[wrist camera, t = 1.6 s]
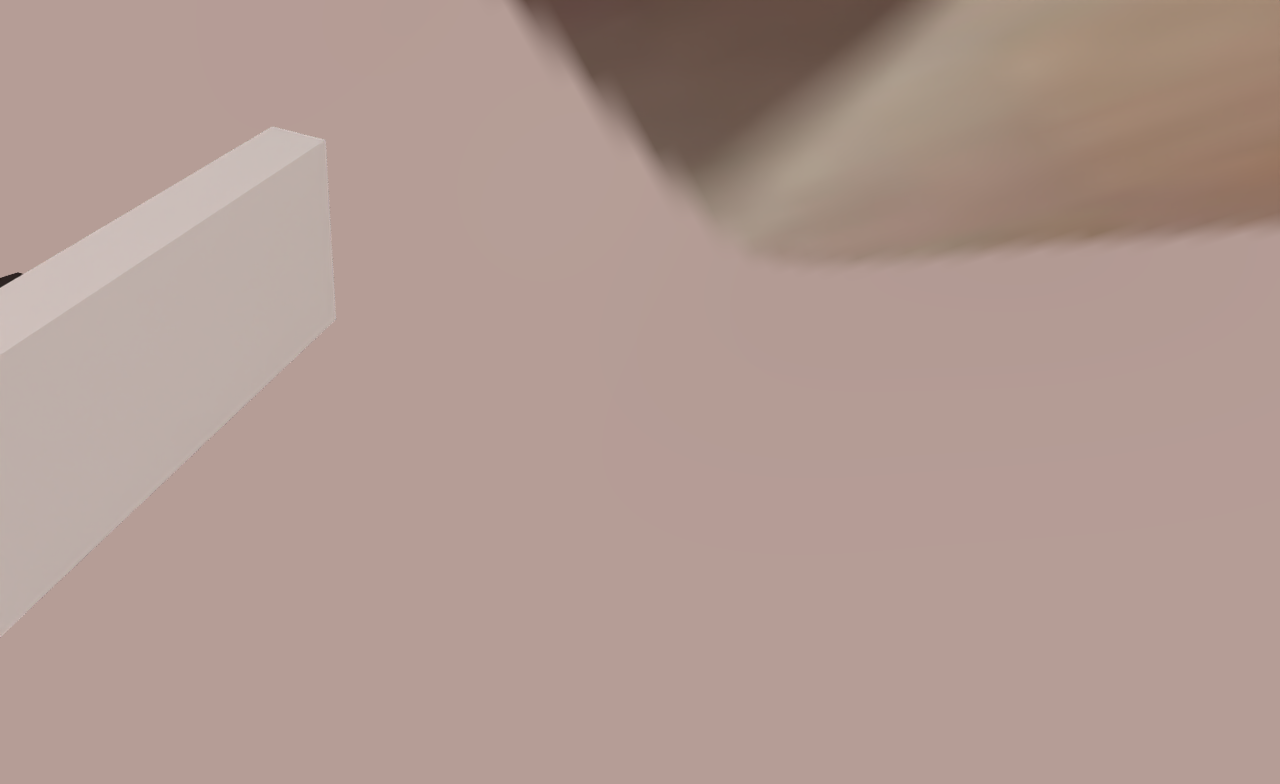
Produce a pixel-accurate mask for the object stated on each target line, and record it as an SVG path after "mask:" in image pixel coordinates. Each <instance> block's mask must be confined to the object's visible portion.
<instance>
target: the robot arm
mask: <svg viewBox="0 0 1280 784" xmlns="http://www.w3.org/2000/svg"><path fill="white" fill-rule="evenodd" d="M330 225H331V224H330V207H329V190H328V173H327V155H326V140H324V139H320V138H316V137H312V136H308V135H304V134H300V133H296V132H292V131H288V130H284V129H280V128H276V127H271V128H269V129H267V130H265V131H264V132H262V133H261V134H259V135H257V136H255V137H254V138H252V139H250V140H249V141H247V142H245V143H244V144H242V145H240V146H238V147H237V148H235V149H234V150H232V151H230V152H228V153H227V154H225V155H223V156H222V157H220V158H218V159H217V160H215V161H213V162H212V163H210V164H208V165H206V166H205V167H203V168H201V169H200V170H198V171H196V172H195V173H193V174H191V175H190V176H188V177H186V178H185V179H183V180H181V181H180V182H178V183H176V184H175V185H173V186H171V187H170V188H168V189H166V190H164V191H163V192H161V193H159V194H158V195H156V196H155V197H153V198H151V199H149V200H147V201H146V202H144V203H143V204H141V205H139V206H137V207H136V208H134V209H133V210H131V211H129V212H127V213H126V214H124V215H122V216H121V217H119V218H117V219H116V220H114V221H112V222H110V223H109V224H107V225H105V226H104V227H102V228H100V229H99V230H97V231H95V232H94V233H92V234H90V235H88V236H87V237H85V238H83V239H82V240H80V241H78V242H77V243H75V244H73V245H72V246H70V247H68V248H67V249H65V250H63V251H62V252H60V253H58V254H56V255H55V256H53V257H51V258H50V259H48V260H46V261H45V262H43V263H41V264H40V265H38V266H36V267H35V268H33V269H31V270H29V271H28V272H26V273H24V274H22V273H15V274H11V275H8V276H5V277H2V278H0V637H1V636H2V635H3V634H4V633H5V632H6V631H7V630H8V629H10V628H11V627H12V626H13V625H14V624H15V623H16V622H17V621H18V620H19V619H20V618H21V617H22V616H23V615H24V614H25V613H26V612H27V611H29V610H30V609H31V608H32V607H33V606H34V605H35V604H36V603H37V602H38V601H39V600H40V599H41V598H42V597H43V596H44V595H45V594H47V593H48V592H49V591H50V590H51V589H52V588H53V587H54V586H55V585H56V584H57V583H58V582H59V581H60V580H61V579H62V578H63V577H64V576H66V575H67V573H69V572H70V571H71V570H72V569H73V568H74V567H75V566H76V565H77V564H78V563H79V562H80V561H81V560H82V559H83V558H84V557H86V556H87V555H88V554H89V553H90V552H91V551H92V550H93V549H94V548H95V547H96V546H97V545H98V544H99V543H100V542H101V541H102V540H103V539H104V538H105V537H107V536H108V535H109V534H110V533H111V532H112V531H113V530H114V529H115V528H116V527H117V526H118V525H119V524H120V523H121V522H123V521H124V520H125V519H126V518H127V517H128V516H129V515H130V514H131V513H132V512H133V511H134V510H135V509H136V508H137V507H138V506H139V505H140V504H142V503H143V502H144V501H145V500H146V499H147V498H148V497H149V496H150V495H151V494H152V493H153V492H154V491H155V490H156V489H157V488H158V487H159V486H160V485H162V484H163V483H164V482H165V481H166V480H167V479H168V478H169V477H170V476H171V475H172V474H173V473H174V472H175V471H176V470H177V469H178V468H179V467H181V466H182V465H183V464H184V463H185V462H186V461H187V460H188V459H189V458H190V457H191V456H192V455H193V454H194V453H195V452H196V451H197V450H199V449H200V448H201V447H202V446H203V445H204V444H205V443H206V442H207V441H208V440H209V439H210V438H211V437H212V436H213V435H214V434H215V433H216V432H218V431H219V430H220V429H221V428H222V427H223V426H224V425H225V424H226V423H227V422H228V421H229V420H230V419H231V418H232V417H233V416H234V415H235V414H237V413H238V411H240V410H241V409H242V408H243V407H244V406H245V405H246V404H247V403H248V402H249V401H250V400H251V399H252V398H253V397H254V396H256V394H258V393H259V392H260V391H261V390H262V389H263V388H264V387H265V386H266V385H267V384H268V383H269V382H270V381H271V380H272V379H274V378H275V376H277V375H278V374H279V373H280V372H281V371H282V370H283V369H284V368H285V367H286V366H287V365H288V364H289V363H290V362H291V361H292V360H293V359H295V358H296V357H297V356H298V355H299V354H300V353H301V352H302V351H303V350H304V349H305V348H306V347H307V346H308V345H309V344H310V343H312V342H313V340H314V339H316V338H317V337H318V336H319V335H320V334H321V333H322V332H323V331H324V330H325V329H326V328H327V327H328V326H329V325H331V323H332V322H334V321H335V320H336V310H335V293H334V277H333V259H332V241H331V226H330Z"/></svg>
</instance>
